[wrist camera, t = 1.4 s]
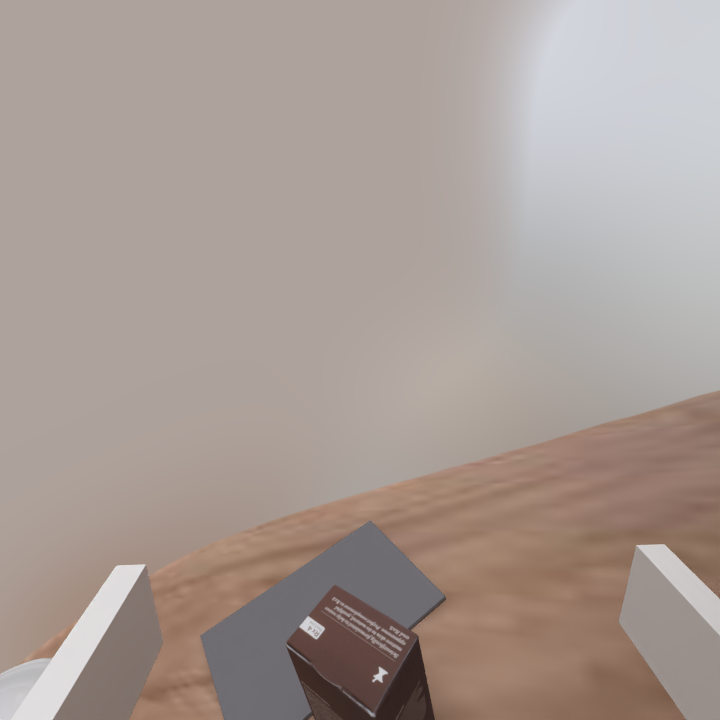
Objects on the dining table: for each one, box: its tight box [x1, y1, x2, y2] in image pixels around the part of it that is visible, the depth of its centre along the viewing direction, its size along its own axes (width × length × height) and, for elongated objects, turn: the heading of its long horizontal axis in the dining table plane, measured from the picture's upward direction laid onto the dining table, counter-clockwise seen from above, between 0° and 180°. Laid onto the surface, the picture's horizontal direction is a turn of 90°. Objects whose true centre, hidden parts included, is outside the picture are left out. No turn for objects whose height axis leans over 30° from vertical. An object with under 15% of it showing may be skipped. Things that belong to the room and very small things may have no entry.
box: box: [286, 585, 435, 720], centre depth 23 cm, size 6×4×12 cm
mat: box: [200, 521, 446, 720], centre depth 34 cm, size 18×11×1 cm, turn 124°
